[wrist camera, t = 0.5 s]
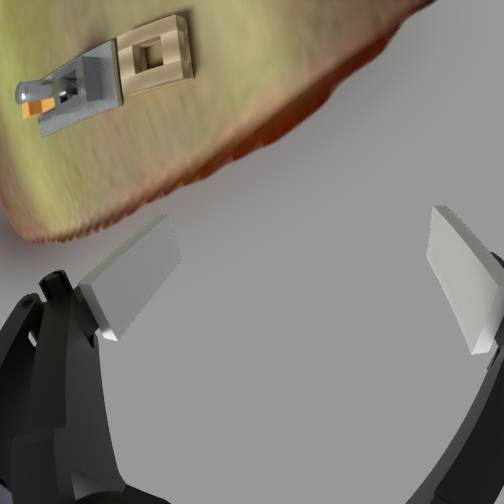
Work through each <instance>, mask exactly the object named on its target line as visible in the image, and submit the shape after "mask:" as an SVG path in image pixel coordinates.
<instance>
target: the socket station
mask: <svg viewBox="0 0 504 504" xmlns="http://www.w3.org/2000/svg"><path fill="white" fill-rule="evenodd" d="M69 77H76V79H77V88H78V95H72V96H64V97H57V98H54V103H55V108H54V109H53V110H51V111H49V112H47V113H45V114H44V115H41V116H38V123H39V127H40V133H41V138H43V137H46V136H48V135H50V134H53V133H55V132H57V131H59V130H61V129H63V128H66V127H68V126H70V125H73V124H75V123H77V122H80V121H82V120H84V119H87V118H89V117H92V116H95V115H97V114H100V113H102V112H105V111H108V110H111V109H114V108H116V107H119V106H122V98H121V91H120V83H119V75H118V66H117V56H116V45H115V41H112V40H110V41H108V42H106V43H104V44H102V45H100V46H98V47H96V48H94V49H92V50H90V51H89V52H87V53H85V54H83V55H81V56H80V57H78V58H76V59H74V60H73V61H71V62H69V63H67V64H66V65H64V66H63V67H61V68H59V69H58V70H56V71H55V72H53V73H51V74H50V75H48V76H47V77H45V78H44V79H55V78H69ZM44 79H42V80H44Z"/></svg>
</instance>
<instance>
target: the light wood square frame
mask: <svg viewBox="0 0 504 504" xmlns="http://www.w3.org/2000/svg"><path fill="white" fill-rule="evenodd" d="M158 43H161V47H162V55H163V64H164V65H162V66H159V67H156V68H153V69H149V70H147V63H146V55H145V48H147V47H150V46H152V45H155V44H158ZM117 46H118V57H119V66H120V75H121V83H122V91H123V96H124V95H137V94H141V93H144V92H147V91H150V90H154V89H157V88H161V87H164V86H168V85H172V84H175V83H179V82H183V81H188V80H192V79H194V77H193V70H192V62H191V54H190V46H189V38H188V29H187V20H186V19H184V18H182V17H180V16H178V15H176V14H175V15H172V16H169V17H166V18H163V19H160V20H157V21H155V22H152V23H149V24H147V25H144V26H142V27H139V28H137V29H134V30H132V31H130V32H127V33H125V34H123V35H121V36H118V37H117Z"/></svg>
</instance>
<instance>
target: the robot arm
mask: <svg viewBox="0 0 504 504" xmlns="http://www.w3.org/2000/svg"><path fill="white" fill-rule="evenodd" d="M427 259H428V261H429V263H430V265H431V266H432V268H433V270H434V272H435V274H436V276H437V278H438V280H439V282H440V284H441V286H442V288H443V290H444V292H445V294H446V296H447V298H448V301H449V302H450V305H451V307H452V309H453V311H454V314H455V316H456V318H457V320H458V323H459V325H460V327H461V330H462V332H463V335H464V337H465V340H466V342H467V345H468V347H469V350H470V353H471V354H478V353H484V352H488V351H489V349H490V347H491V345H492V343H493V341H494V339H495V340H496V343H497V345H498V348H497V350H496V352H495V354H494V356H493V358H492V360H491V362H490V364H489V366H488V367H487V370H488V372H487V374H486V376H485V379H484V381H483V383H482V385H481V387H480V390H479V392H478V394H477V396H476V398H475V400H474V402H473V404H472V406H471V408H470V410H469V412H468V413H467V415H466V417H465V419H464V421H463V423H462V424H461V426H460V428H459V430H458V431H457V433H456V435H455V436H454V438H453V440H452V441H451V443H450V444H449V446H448V448H447V449H446V451H445V453H444V454H443V455H442V457H441V458H440V460H439V461H438V463H437V464H436V466H435V467H434V468H433V470H432V471H431V472H430V474H429V475H428V476H427V478H426V479H425V480H424V482H423V483H422V484H421V485H420V487H419V488H418V489H417V490H416V492H415V493H414V494H413V496H412V497H411V498H410V499H409V500H408V501H407V503H406V504H494V502H495V501H496V499H497V497H498V495H499V493H500V491H501V490H502V488H503V486H504V261H503V260H502V259H501V258H500V257H499V256H497V255H496V254H494V253H493V252H489V250H488V249H487V248H486V247H485V246H484V245H483V244H482V242H481V241H480V240H479V239H478V238H477V237H476V236H475V235H474V234H473V233H472V231H471V230H470V229H469V228H468V227H467V226H466V225H465V224H464V223H463V222H462V221H461V220H460V219H459V218H458V217H457V216H456V215H455V214H454V213H453V212H452V211H451V210H450V209H449V208H448V207H447V206H438V205H437V206H436V205H435V206H434V205H433V208H432V219H431V228H430V236H429V244H428V251H427ZM181 261H182V259H181V255H180V252H179V248H178V244H177V240H176V236H175V232H174V228H173V225H172V221H171V217H170V215H161V216H157V217H156V218H155V219H154V220H152V221H151V222H149V223H148V224H147V225H146V226H145V227H143V228H142V229H141V230H139V231H138V232H137V233H136V234H135V235H133V236H132V237H131V238H129V239H128V240H127V241H126V242H125V243H123V244H122V245H121V246H120V247H119V248H117V249H116V250H115V251H114V252H113V253H112V254H110V255H109V256H108V257H107V258H106V259H105V260H103V261H102V262H101V263H100V264H99V265H98V266H96V267H95V268H94V269H93V270H92V271H91V272H90V273H88V275H86V276H85V277H84V278H83V279H82V280H81V281H80V282H79V283H78V286H77V287H76V288H75V289H74V290H73V288H72V286H71V284H70V282H69V279H68V277H67V275H66V273H65V271H64V270H58V271H54V272H52V273H50V274H48V275H47V276H45V277H44V278H43V279H42V280H41V281H40V283H39V285H40V287H41V289H42V291H43V293H44V295H45V297H46V299H47V302H42V301H41V300H40V297H39V295H38V294H37V293H32V294H27V295H26V296H24V297H23V298H22V299H21V300H20V301H19V302H18V303H17V305H16V306H15V308H14V310H13V311H12V313H11V314H10V316H9V317H8V319H7V321H6V322H5V324H4V325H3V327H2V329H1V331H0V504H171V503H169V502H168V501H166V500H164V499H162V498H159V497H156V496H154V495H151V494H149V493H146V492H144V491H141V490H139V489H136V488H134V487H132V486H129V485H127V484H126V483H125V482H124V480H123V479H122V477H121V475H120V474H119V471H118V468H117V464H116V460H115V456H114V451H113V447H112V442H111V437H110V432H109V427H108V421H107V415H106V409H105V402H104V395H103V388H102V380H101V370H100V359H99V347H98V338H97V336H96V334H95V331H96V330H97V329H98V328H100V330H101V332H102V334H103V336H104V338H106V339H111V340H116V341H118V340H119V339H120V338H121V336H122V335H123V334H124V332H125V331H126V330H127V328H128V327H129V326H130V325H131V323H132V322H133V321H134V319H135V318H136V317H137V315H138V314H139V313H140V312H141V310H142V309H143V308H144V307H145V305H146V304H147V303H148V302H149V300H150V299H151V298H152V296H153V295H154V294H155V293H156V292H157V290H158V289H159V288H160V287H161V285H162V284H163V283H164V282H165V280H166V279H167V278H168V277H169V275H170V274H171V273H172V272H173V271H174V269H175V268H176V267H177V266H178V264H179V263H180V262H181ZM29 332H30V333H31V335H32V336H33V338H34V340H35V341H36V343H37V344H36V347H34V346H33V345H32V343H31V342H30V340H29V338H28V335H29Z"/></svg>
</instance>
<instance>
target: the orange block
mask: <svg viewBox="0 0 504 504" xmlns="http://www.w3.org/2000/svg"><path fill="white" fill-rule="evenodd" d="M54 108H55V103H54V98H50V99H44V100H38V101H32V102H27V103H24V104H23V105H22V111H23V119H28V118H32V117H37V116H41V115H44V114H45V113H47V112H49V111H51V110H53V109H54Z"/></svg>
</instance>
